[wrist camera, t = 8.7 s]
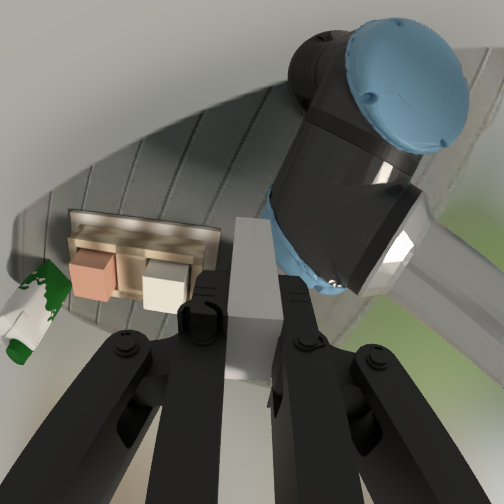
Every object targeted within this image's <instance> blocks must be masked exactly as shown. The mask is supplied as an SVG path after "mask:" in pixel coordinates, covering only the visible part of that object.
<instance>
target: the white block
mask: <svg viewBox="0 0 504 504" xmlns="http://www.w3.org/2000/svg"><path fill="white" fill-rule="evenodd" d="M190 266H191V264H186V263H179V262H172V261H166V260H159V259H152V258H151V259H150V261H149V263H148V265H147V267H146V270H145V272H144V274H143V276H142V278H143V304H144V309H148V310H154V311H160V312H166V313H173V314H177V310H178V309H179V307H180V305H182V304H183V303H185V302H186V297H187V293H188V289H189V278H190Z"/></svg>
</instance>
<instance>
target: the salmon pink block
mask: <svg viewBox="0 0 504 504" xmlns="http://www.w3.org/2000/svg"><path fill="white" fill-rule="evenodd" d="M69 269H70V275H71V281H72V286H73V291H74V295H75V296H79V297H84V298H89V299H94V300H99V301H104V302H108V300H109V298H110V296H111V294H112V292H113V290H114V289H115V287H116V285H117V283H118V276H117V263H116V253H112V252H106V251H100V250H93V249H87V248H81V249H80V250H79V251H78V253H77V254H76V255H75V256H74V257H73V259H72V260H71V261H70V262H69Z"/></svg>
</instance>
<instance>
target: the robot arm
mask: <svg viewBox="0 0 504 504" xmlns="http://www.w3.org/2000/svg"><path fill="white" fill-rule="evenodd" d="M461 66H462V65H461V63H460V61H459V59H458V57H457V56H456V54H455V52H454V51H453V50H452V48H451V47H450V46H449V45H448V43H447V42H446V41H445V40H444V39H443V38H442V37H441V36H440V35H438V34H437V33H436V32H435V31H433V30H432V29H430V28H429V27H427V26H425V25H423V24H421V23H419V22H416V21H414V20H410V19H405V18H388V19H381V20H372V21H369V22H367V23H365V24H364V25H361V26H360V28H358V29H356V30H354V31H351V32H348V31H341V30H334V31H326V32H322V33H320V34H317V35H315V36H313V37H312V38H310V39H308V40H307V41H305V42H304V43H303V44H302V45H301V46H300V47H299V48H298V49H297V50H296V52H295V53H294V55H293V57H292V59H291V62H290V65H289V70H288V85H289V90H290V93H291V96H292V99H293V101H294V102H295V104H296V106H297V107H298V109H299V110H300V111H301V112H302V113H303V114H304V115H305V118H304V119H303V121H302V123H301V125H300V127H299V130H298V132H297V134H296V136H295V138H294V140H293V143H292V145H291V147H290V149H289V151H288V153H287V156H286V158H285V160H284V162H283V164H282V166H281V169H280V171H279V173H278V175H277V177H276V180H275V182H274V184H273V185H272V186H271V187H270V189H269V191H268V194H267V202H266V204H265V207H264V209H263V212H262V214H261V217H260V219H257V218H246V217H236V224H235V234H234V244H233V255H232V265H231V272H227V271H215V270H203V271H202V272H201V273H200V274H199V275H198V276H197V277H196V281H195V285H194V289H193V293H192V298H191V300H188V301H186V302H185V303H183V304H182V305H180V307H179V309H178V310H177V318H178V332H179V333H177V334H176V335H174V336H172V337H170V338H166V339H161V340H153V341H149V339H148V338H147V337H146V336H145V335H144V334H142V333H140V332H139V331H134V330H121V331H118V332H116V333H114V334H112V335H111V336H110V337H108V338H107V339H106V340H105V342H104V343H103V344H102V345H101V347H100V348H99V349H98V351H97V352H96V353H95V354H94V355H93V357H92V358H91V359H90V361H89V362H88V363H87V364H86V366H85V367H84V368H83V369H82V371H81V372H80V373H79V375H78V376H77V377H76V379H75V380H74V381H73V382H72V384H71V385H70V387H69V388H68V389H67V391H66V392H65V393H64V395H63V396H62V397H61V398H60V400H59V401H58V402H57V404H56V405H55V406H54V408H53V409H52V410H51V412H50V413H49V415H48V416H47V417H46V419H45V420H44V421H43V423H42V424H41V426H40V427H39V428H38V430H37V431H36V433H35V434H34V436H33V437H32V438H31V440H30V441H29V443H28V444H27V446H26V447H25V449H24V450H23V451H22V453H21V454H20V456H19V457H18V459H17V460H16V462H15V463H14V465H13V466H12V468H11V469H10V471H9V473H8V474H7V475H6V477H5V478H4V480H3V482H2V483H1V485H0V504H109V503H110V501H111V499H112V497H113V495H114V493H115V491H116V489H117V487H118V486H119V483H120V482H121V480H122V478H123V476H124V474H125V472H126V470H127V468H128V466H129V465H130V463H131V460H132V459H133V457H134V455H135V453H136V451H137V449H138V448H139V446H140V444H141V442H142V440H143V438H144V436H145V434H146V432H147V431H148V429H149V426H150V425H151V423H152V421H153V419H154V417H155V415H156V414H157V412H158V410H159V408H160V406H163V407H162V412H161V416H160V421H159V427H158V432H157V437H156V442H155V448H154V454H153V460H152V465H151V470H150V477H149V482H148V489H147V495H146V501H145V504H218V484H219V463H220V445H221V427H222V410H223V394H224V378H225V379H239V380H257V381H270V378H271V374H272V388H271V392H270V396H269V400H268V404H267V407H268V408H269V407H270V406H271V425H272V444H273V467H274V490H275V504H364V499H363V493H362V488H361V483H360V477H359V473H360V475H361V477H362V480H363V482H364V484H365V485H366V488H367V490H368V492H369V494H370V496H371V498H372V500H373V502H374V504H491V502H490V500H489V499H488V497H487V495H486V493H485V492H484V490H483V489H482V487H481V485H480V484H479V482H478V480H477V478H476V477H475V475H474V473H473V472H472V470H471V468H470V467H469V465H468V464H467V462H466V461H465V459H464V457H463V455H462V454H461V452H460V451H459V449H458V447H457V446H456V444H455V443H454V441H453V440H452V438H451V437H450V435H449V433H448V432H447V430H446V429H445V427H444V426H443V424H442V423H441V421H440V420H439V418H438V417H437V415H436V414H435V412H434V411H433V409H432V408H431V406H430V405H429V404H428V402H427V401H426V399H425V398H424V396H423V395H422V393H421V392H420V390H419V389H418V387H417V386H416V385H415V383H414V382H413V380H412V379H411V377H410V376H409V375H408V373H407V372H406V370H405V369H404V368H403V366H402V365H401V363H400V362H399V361H398V359H397V358H396V356H395V355H394V354H393V353H392V352H391V351H390V350H389V349H387V348H385V347H383V346H381V345H377V344H366V345H364V346H362V347H360V348H359V349H358V351H357V352H356V353H354V352H349V351H345V350H341V349H339V348H336V347H334V346H332V345H330V344H329V342H328V340H327V338H326V336H324V335H323V334H322V333H321V332H320V331H319V330H318V326H317V322H316V318H315V314H314V310H313V306H312V303H311V298H310V295H309V290H308V288H309V289H311V288H313V287H314V288H315V289H316V290H317V291H318V292H319V293H322V294H326V295H336V294H340V293H342V292H343V291H346V290H347V289H350V290H351V291H353V292H354V293H355V294H357V295H358V296H359V297H366V296H373V295H386V296H387V297H388V298H390V299H391V300H392V301H394V302H395V303H396V304H398V305H399V306H400V307H402V308H403V309H404V310H406V311H407V312H408V313H410V314H411V315H412V316H414V317H415V318H416V319H417V320H419V321H420V322H421V323H423V324H424V325H425V326H427V327H428V328H429V329H431V330H432V331H433V332H434V333H436V334H437V335H438V336H439V337H441V338H442V339H443V340H445V341H446V342H447V343H448V344H450V345H451V346H452V347H453V348H455V349H456V350H457V351H458V352H460V353H461V354H462V355H463V356H465V357H466V358H467V359H468V360H470V361H471V362H472V363H473V364H475V365H476V366H477V367H478V368H479V369H481V370H482V371H483V372H484V373H486V374H487V375H488V376H489V377H490V378H492V379H493V380H494V381H495V382H497V383H498V384H499V385H500V386H501V387H502V388H503V389H504V272H503V271H502V270H500V269H499V268H498V267H497V266H496V265H495V264H493V263H492V262H491V261H490V260H489V259H487V258H486V257H485V256H484V255H482V254H481V253H480V252H479V251H477V250H476V249H475V248H474V247H472V246H471V245H470V244H468V243H467V242H466V241H464V240H463V239H462V238H460V237H459V236H458V235H457V234H455V233H454V232H452V231H451V230H450V229H448V228H447V227H446V226H444V225H443V224H441V223H440V222H439V221H437V220H436V219H435V218H434V217H433V215H432V214H431V210H430V206H429V202H428V198H427V195H426V193H425V192H424V191H422V190H420V189H419V188H417V187H416V186H414V185H413V184H411V183H410V180H411V178H412V177H413V174H414V173H415V171H416V169H417V167H418V165H419V163H420V161H421V159H422V157H423V155H424V154H430V153H435V152H437V151H438V150H439V149H440V148H446V147H448V146H449V145H451V144H452V143H453V142H454V141H455V140H456V139H457V137H458V136H459V135H460V133H461V132H462V130H463V128H464V125H465V123H466V120H467V116H468V111H469V89H468V84H467V79H466V78H465V77H464V76H463V73H462V68H461ZM411 176H412V177H411ZM276 264H277V265H278V266H279V267H280V268H281V269H282V270H283V271H284V272H285V273H286V274H287V275H278V273H277V266H276ZM358 471H359V472H358Z"/></svg>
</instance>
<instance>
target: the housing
mask: <svg viewBox="0 0 504 504" xmlns="http://www.w3.org/2000/svg"><path fill="white" fill-rule="evenodd" d="M70 216H71V228H72V233H71V235H70V236H69V237H68V246H69V254H70V261H71V260H72V259H73V257H74V256H75V255H76V254H77V253H78V251H79V250H80V249H81V248H87V249H93V250H100V251H106V252H112V253H116V263H117V276H118V283H117V285H116V287H115V289H114V290H113V292H112V294H111V296H114V297H120V298H125V299H131V300H137V301H142V302H143V278H142V276H143V274H144V272H145V270H146V267H147V265H148V263H149V261H150V259H151V258H152V259H159V260H166V261H172V262H179V263H186V264H191V266H190V278H189V289H188V293H187V297H186V301H188V300H191V298H192V293H193V289H194V285H195V281H196V277H197V276H198V275H199V274H200V273H201V272H202V271H203V270H215V269H216V261H217V254H218V247H219V240H220V233H221V229H218V228H211V227H204V226H196V225H189V224H182V223H174V222H167V221H159V220H152V219H144V218H136V217H128V216H121V215H113V214H104V213H96V212H88V211H80V210H72V211H71V212H70Z"/></svg>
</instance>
